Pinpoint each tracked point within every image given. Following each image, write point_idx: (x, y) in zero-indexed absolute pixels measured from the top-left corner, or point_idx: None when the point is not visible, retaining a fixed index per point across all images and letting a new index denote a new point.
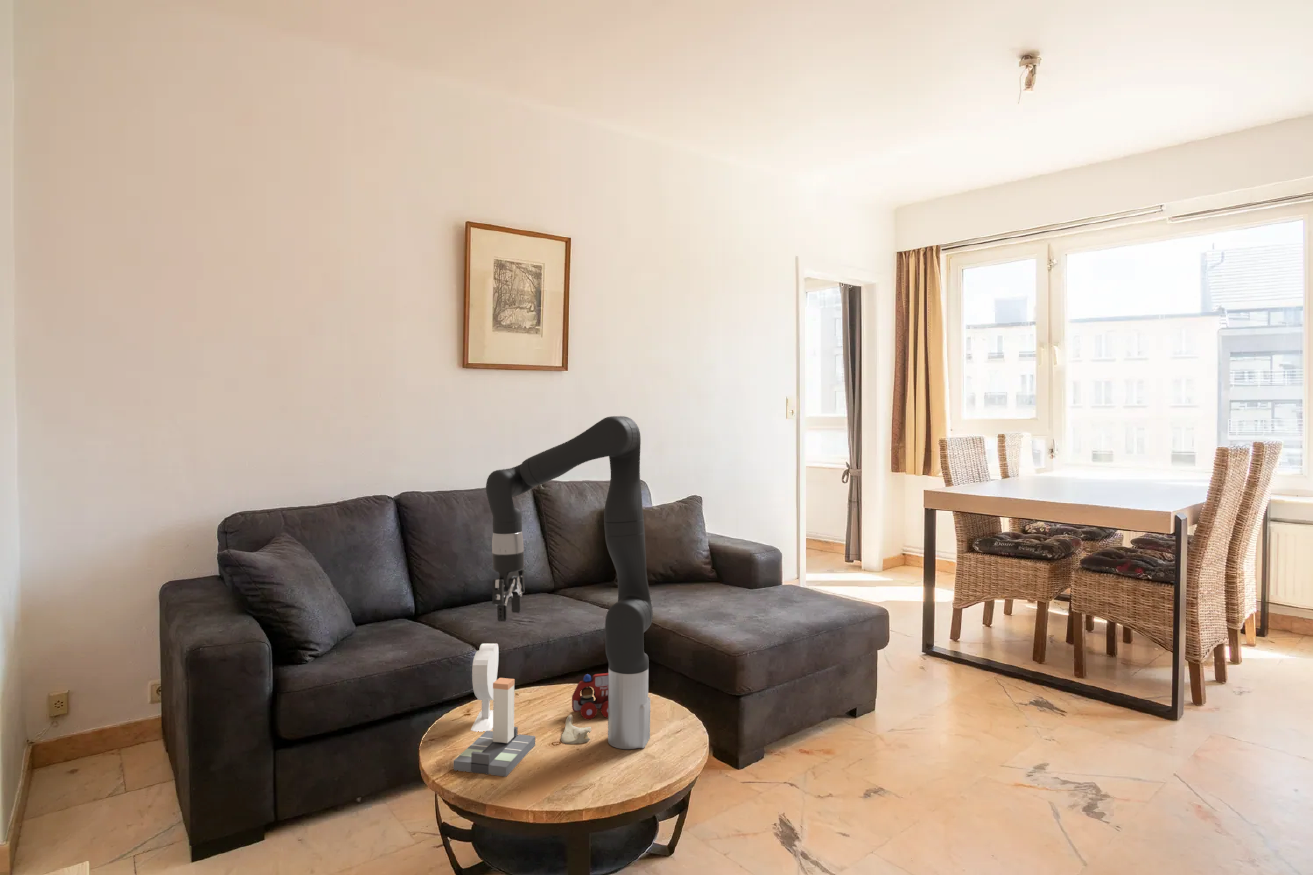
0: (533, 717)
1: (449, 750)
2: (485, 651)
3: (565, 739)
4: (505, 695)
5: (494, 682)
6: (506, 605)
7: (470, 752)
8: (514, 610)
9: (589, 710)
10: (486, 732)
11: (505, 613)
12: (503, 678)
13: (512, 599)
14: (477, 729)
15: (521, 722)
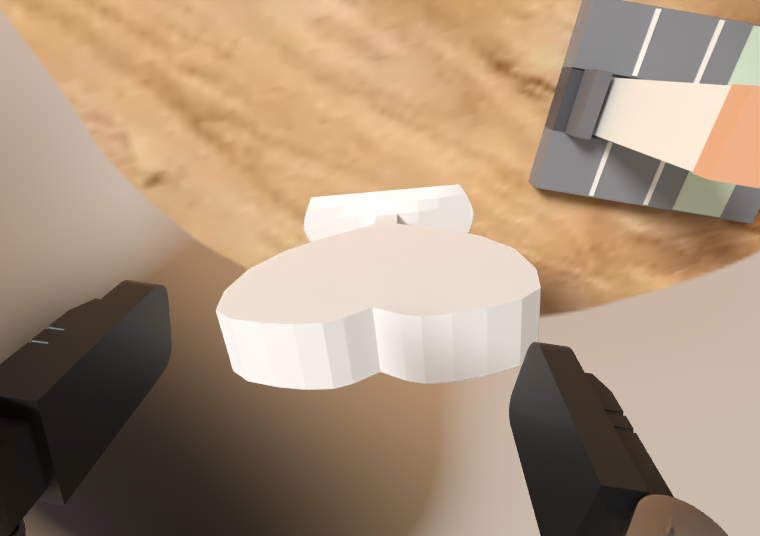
0: (345, 67)
1: (600, 261)
2: (437, 342)
3: None
4: None
5: None
6: (609, 489)
7: (706, 190)
8: (158, 347)
9: None
10: (550, 184)
11: (598, 406)
12: (725, 156)
13: (79, 470)
14: (460, 226)
15: (393, 101)
